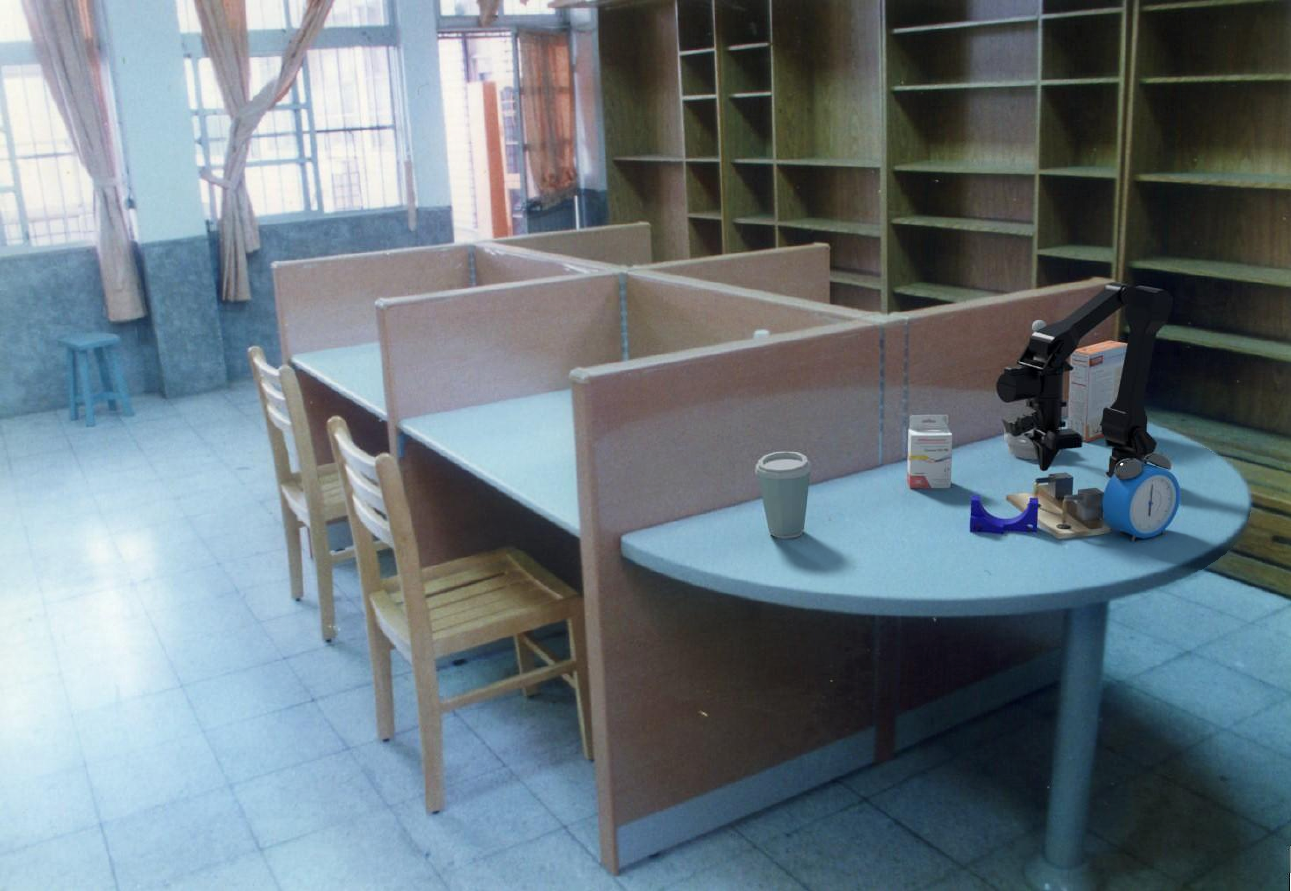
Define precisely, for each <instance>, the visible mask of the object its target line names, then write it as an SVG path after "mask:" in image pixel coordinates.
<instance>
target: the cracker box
mask: <svg viewBox="0 0 1291 891" xmlns="http://www.w3.org/2000/svg"><path fill="white" fill-rule="evenodd" d="M1127 343H1128V342H1126V343H1125V342H1121V341H1120V342H1119V341H1115V340H1106V341H1103V342H1099V343H1098V342H1097V343H1095V344H1091V345H1088V346H1083V347H1080V348H1077V349H1076V350H1075V351H1074V352H1073V353H1072V354H1071V355H1070V357H1069V364H1070V365H1071V366H1072V367H1073V370H1072V371H1069V378H1068V402H1067V404H1068V405H1067V427H1066V429H1072V430H1074V431H1076V432H1077V433H1079V434H1080V435H1081V436H1082V437H1083V442H1085V443H1088V441H1089V442H1091V441H1094V440H1098V439H1101V438H1104V436H1103V434H1102V432H1101V429H1102V426H1100V423H1101V421H1102V417H1103V410H1104V408H1105V407H1108V408H1110V407H1111V406H1112V404H1113V403H1114V402H1115V401H1116V399H1117V395H1118V390H1119V385H1120V380H1121V374H1122V369H1123V364H1124V359H1125V354H1126V349H1127Z"/></svg>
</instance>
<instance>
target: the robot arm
mask: <svg viewBox="0 0 1291 891" xmlns="http://www.w3.org/2000/svg"><path fill="white" fill-rule="evenodd" d="M1173 303H1174V302H1173V297H1172V295H1171V294H1170V292H1169V291H1167V290H1165V289H1161V288H1155V287H1151V286H1145V285H1144V286H1143V285H1138V286H1131V285H1129V284H1126V283H1120V282H1115V281H1113V282H1109V283H1107V284H1105V286H1104V287H1103V289H1102V290H1101V291H1099V292H1098V293H1097V294H1096V295H1094V296H1093V297H1091V298H1090V299H1089V300H1088V301H1087V302H1085V303H1083V304H1082V305H1081V306H1080V307H1079V308H1077V309H1076V310H1075V311H1074V312H1072V313H1071V314H1069V315H1068V316H1067V317H1066V318H1064V319H1062V320H1060V321H1056V322H1053V323H1049V324H1046V326H1045V327H1043V328H1041V329H1039V330H1037V331H1035V332H1034V331H1033V333H1032V334H1031V335H1030V337H1029V340H1028V343H1027V344H1026V346H1025V348H1024V350H1022V353H1021V355H1020V356H1019V358H1018V359H1017V361H1016V365H1017V366H1005V367H1004V369H1003V370H1004V371H1003V372H1004V373H1001V375H999V376H998V378H997V381H996V383H995V384H996V385H995V386H996V388H995V389H996V393H997V396H998V398H1000V400H1001V401H1002V402H1004V403H1006V404H1007V403H1008V404H1009V403H1014V402H1020V401H1026V402H1025V406H1024V407H1021V408H1018V409H1016V410H1014V411H1010V412H1009V413H1007V414H1004V415H1003V416H1001V420H1002V424H1003V426H1004V427H1005V430H1006V432H1007V433H1010V434H1011V435H1012V436H1014V437H1017V436H1020V435H1022V433H1025V434H1024V436H1025V437H1027V438H1028V439H1029V440H1030V441H1031V442H1032V443H1033V445H1034V448H1035V452H1036V455H1037V459H1038V460H1037V462H1038V467H1039V469H1040V471H1042V472H1047V471H1048V470H1049V468H1050V467H1051V465H1052V462H1054V460H1055V458H1056V457H1055V456H1056V455H1057V453H1058V452H1059V450H1060V451H1061V450H1072V449H1079V448H1082V447H1083V442H1084V441H1083V437H1082V436H1081V435H1080V434H1079V433H1077V432H1076V431H1074V430H1072V429H1067V428H1065V427H1066V424H1067V422H1066V421H1065V420H1064V419H1062V416H1063V408H1065V407H1067V408H1068V405H1067V404H1068V402H1067V400H1064V398H1063V396H1064V377H1065V372H1070V371H1072V370H1073V367H1072V366H1071V365H1070V362H1068V361H1067V360H1068V358H1069V359H1070V355H1071V354H1072V353H1073V352H1074V351H1075V350H1076V349H1078V346H1079V343H1080V341H1081V340H1082V339H1083V338H1084V337H1085V336H1086V335H1087V334H1089V333H1090V332H1091V331H1092V330H1094V329H1096V327H1098V326H1099V325H1101V323H1103V322H1104V321H1105V320H1106V319H1108V318H1109V317H1111V316H1112V315H1113V314H1114V313H1116V312H1117V311H1118V310H1120V309H1121V308H1122V307H1125V308H1124V316H1125V320H1126V322H1127V325H1128V326H1127V327H1128V329H1129V334H1128V339H1127V342H1126V343H1127V349H1126V354H1125V359H1124V364H1123V369H1122V374H1121V380H1120V385H1119V390H1118V395H1117V399H1116V401H1115V402H1114V403H1113V404H1112V406H1111V407H1110V408H1108V407H1105V408H1104V410H1103V417H1102V421H1101V423H1100V426H1102V429H1101V432H1102V434H1103V436H1104V437H1103V438H1104V440H1105V445H1106V447H1110V448H1111V455H1110V456H1108V457H1109V458H1108V459H1109V460H1108V471H1106V473H1105V474H1106V475H1107V476H1108V477H1109V478H1111V477H1112V476H1113V475H1114V469H1115V466H1116V464H1117V463H1118V462H1119V461H1121V460H1123V459H1126V458H1134V459H1137V460H1139V461H1141V460H1142V459H1144V457H1145V456H1146V455H1147V454H1149V453H1155V450H1156V447H1157V441H1156V440H1155V438H1153V436H1151V434H1150V433H1149V432H1148V431H1147V430H1148V416H1147V413H1146V410H1145V407H1144V398H1145V393H1146V388H1147V383H1148V378H1149V372H1150V367H1151V363H1152V362H1151V361H1152V357H1153V354H1154V353H1153V352H1154V347H1155V342H1156V337H1157V335H1158V333H1159V331H1160V330H1161V329H1162V328H1163V327H1164V326H1165V324H1167V322H1168V319H1169V317H1170V314H1171V310H1172V308H1173ZM1034 358H1037V359H1041V361H1038V360H1034ZM1059 427H1062V428H1063V429H1059ZM1026 432H1028V433H1026ZM1141 462H1145V463H1148V462H1147V461H1141Z"/></svg>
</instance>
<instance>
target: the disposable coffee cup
mask: <svg viewBox="0 0 1291 891" xmlns="http://www.w3.org/2000/svg"><path fill="white" fill-rule="evenodd" d="M754 471H755V475H757V478H758V483H759V489H760V494H761V498H762V504H763V507H764V508H763V509H764V513H765V518H766V523H767V527H768V532H769V533H770V536H771V535H773V536H775V537H777V538H776V539H782V540H787V539H794V538H797V537H800V536H801V535H803V533H804V530H805V522H806V514H807V513H806V512H807V505H808V497H809V487H810V486H809V485H810V478H811V472H812V471H813V470H812V466H811V462H810V461H809V460H808V457H807V456H806V455H804V454H803V453H801V452H796V451H786V450H784V451H772V452H771V453H768V454H765V455H763V456H762V457H761V458H760V459H758V461H757V463H756V464H755V470H754ZM773 536H772V537H773ZM775 537H774V538H775Z"/></svg>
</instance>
